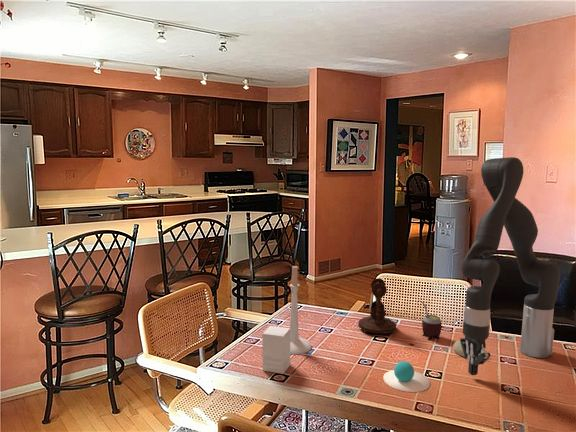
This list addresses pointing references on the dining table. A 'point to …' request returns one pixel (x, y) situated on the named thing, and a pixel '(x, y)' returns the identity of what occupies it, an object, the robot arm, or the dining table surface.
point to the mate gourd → (431, 325)
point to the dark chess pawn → (377, 312)
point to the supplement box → (276, 349)
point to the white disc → (414, 385)
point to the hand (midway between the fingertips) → (472, 373)
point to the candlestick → (296, 320)
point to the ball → (404, 371)
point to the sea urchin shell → (458, 348)
